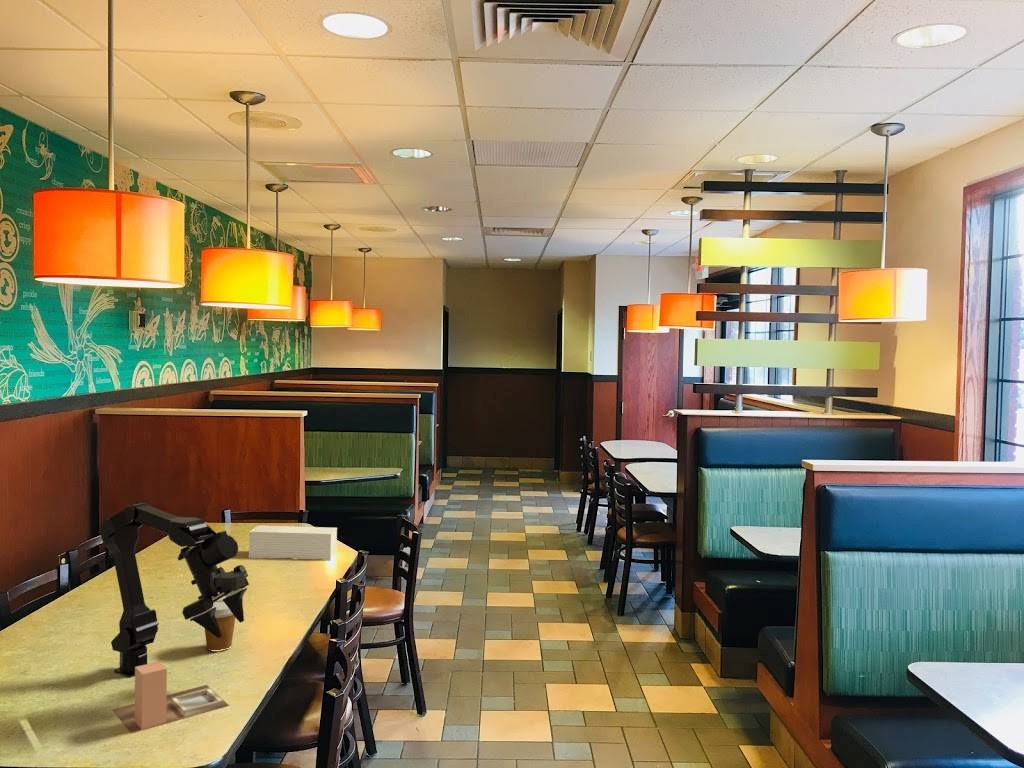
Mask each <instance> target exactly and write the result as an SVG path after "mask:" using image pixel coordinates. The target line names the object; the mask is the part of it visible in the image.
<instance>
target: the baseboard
mask: <svg viewBox="0 0 1024 768" xmlns="http://www.w3.org/2000/svg"><path fill="white" fill-rule="evenodd" d="M226 707H230V704H229V703H227V702H226V701H225V700H224V699H223V698H222V697H221V696H219V694H217V693H216V692H215V691H214V690H213V689H212V688H211V687H210V686H208V685H207V684H205V685H201V686H197V687H194V688H193V687H192V688H189V689H186V690H185V689H184V690H182V691H179V692H174V693H170V694H166V723H164V724H161V725H157V726H154V727H150V728H147V729H143V730H141V728H140V727H139V726H138V725H137V724H136V722H135V721H134V718H135V703H132V704H127V705H124V706H121V707H117V708H113V709H112V711H113V712H114V714H115V715H116V716H117V717H118V720H119V719H120V721H121V722H122V724H123V725H124V726H125V728H127V730H128V731H129V732H130V733H131V734H135V733H138V732H142V731H145V730H149V729H152V728H156V727H159V726H163V725H166V724H169V723H170V724H171V723H173V722H177V721H181V720H185V719H187V718H188V719H189V718H191V717H195V716H198V715H201V714H205V713H208V712H212V711H216V710H219V709H223V708H226Z"/></svg>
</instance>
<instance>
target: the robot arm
mask: <svg viewBox="0 0 1024 768" xmlns="http://www.w3.org/2000/svg"><path fill="white" fill-rule="evenodd" d="M143 526H146V527H148V528H151V529H154V530H156V531H158V532H160V533H164V534H166V535H167V536H168V539H169V540H170V541H171V542H172V543H174V544H176V545H177V546H179V547H183V548H181V549H180V552H179V554H178V557H177V560H178V561H182V560H185V562H186V564H187V567H188V569H189V571H190V574H191V576H192V578H193V579H192V580H191V581H190V583H191V585H192V586H194V585H196V587H197V589H198V591H199V593H200V595H199V596H198V597H197V600H195V601H193V602H191V603H189V604H187V605H186V606H184V607H182V608H183V609H182V612H181V614H182V615H183V618H184V620H185V621H186V620H189V621H190V622H192V621H193V622H194V623H196V624H198V626H199V625H200V626H201V627H202V628H204V630H205V629H206V630H208V631H209V632H210V633H212V634H213V635H214V636H216V637H217V638H219V637H221V636H222V634H221V631H220V628H219V625H218V623H217V620H216V617H215V611H216V607H215V608H212V607H213V603H214V602H215V601H217V600H223V601H224V603H225V604H226V605H227V607H228V608H229V609H230V611H231V612H232V613H233V615H234V616H235V620H237V621H238V622H239V623H242V622H243V623H244V622H245V615H244V606H243V605H244V603H243V600H244V599H243V598H244V595H245V593H246V591H247V590H248V586H249V585H250V583H249V581H248V578H247V577H249V573H248V571H247V569H246V568H245V565H242V564H241V565H237V566H235V567H234V568H233V570H231V571H227V572H226V571H225V569H224V567H222V566H219V567H218V566H217V565H220V564H222V563H224V562H226V561H229V560H232V559H233V558H235V557H236V556H237V554H238V553H239V545H238V542H237V541H236V540H235V538H234V537H233V536H232V535H229V534H228V533H227V530H222V531H221V530H220V531H218V532H215V530H214V529H213V528H211V527H210V526H209V524H207V521H205V519H203V518H199V517H193V516H192V517H181V516H177V515H175V514H172V513H170V512H166V511H164V510H162V509H159V508H156V507H153V506H151V505H150V504H148V503H146V502H141V503H134V504H130V505H128V506H127V507H125V508H124V509H123V510H122V511H120V512H118V513H117V514H115V515H113V516H111V517H110V518H106V519H105V520H103V521H102V523H101V525H100V526H99V533H100V537H101V539H102V543H103V545H104V547H105V548H106V549H107V550H109V552H110V553H111V554H112V556H113V557H112V558H113V563H114V567H115V573H116V577H117V582H118V587H119V592H120V598H121V603H122V608H123V611H122V614H121V617H120V619H119V623H118V625H119V626H118V627H119V633H117V634H116V635H115V637H114V638H113V639H112V640H111V641H110V643H111V649H112V651H114V652H119V667H118V668H115V669H113V672H115V673H116V672H117V674H119V673H120V675H122V674H123V676H125V675H126V676H125V677H128V676H129V678H131V677H134V676H135V667H137V666H141V665H146V664H148V647H147V645H150V644H153V643H155V639H156V635H157V633H158V631H159V624H160V622H159V621H158V617H157V611H156V610H155V609H151V608H149V606H148V605H146V602H145V598H144V597H145V596H144V591H143V587H142V581H141V576H140V572H139V566H138V561H137V557H136V551H135V548H136V545H137V543H138V540H139V530H140V528H141V527H143ZM223 597H224V598H223ZM222 598H223V599H222ZM133 675H134V676H133ZM130 676H131V677H130Z"/></svg>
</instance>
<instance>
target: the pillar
mask: <svg viewBox="0 0 1024 768" xmlns="http://www.w3.org/2000/svg"><path fill="white" fill-rule="evenodd" d="M167 672H168V668H167V667H165V665H164V664H163V663H161V662H160V661H154V662H151V663H147V664H146V665H141V666H137V667H135V675H134V704H135V718H134V721H135V722H136V724H137V725H138V726H139V727H140V728H141V730H142V731H144V730H143V729H146V730H148V729H147V728H149V729H151V728H150V727H153V728H155V727H154V726H156V727H158V726H157V725H160V726H162V725H161V724H163V725H165V724H164V723H166V695H167V693H168V691H167V686H168V685H167V684H168V683H167V681H168V678H167V677H168V675H167V674H168V673H167Z"/></svg>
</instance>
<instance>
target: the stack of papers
mask: <svg viewBox="0 0 1024 768" xmlns="http://www.w3.org/2000/svg"><path fill="white" fill-rule="evenodd" d="M248 533H249V534H248V536H249V537H248V559H262V558H284V559H283V560H286V559H285V558H298V559H325V560H324V561H332V560H333V558H334V557H335V556H336V555H337V548H338V547H337V541H338V537H337V536H338V527H329V526H328V527H324V526H323V527H319V526H290V525H256V526H255V527H253V529H251V530H249V532H248ZM335 554H336V555H335ZM334 555H335V556H334ZM333 556H334V557H333ZM332 557H333V558H332Z"/></svg>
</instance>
